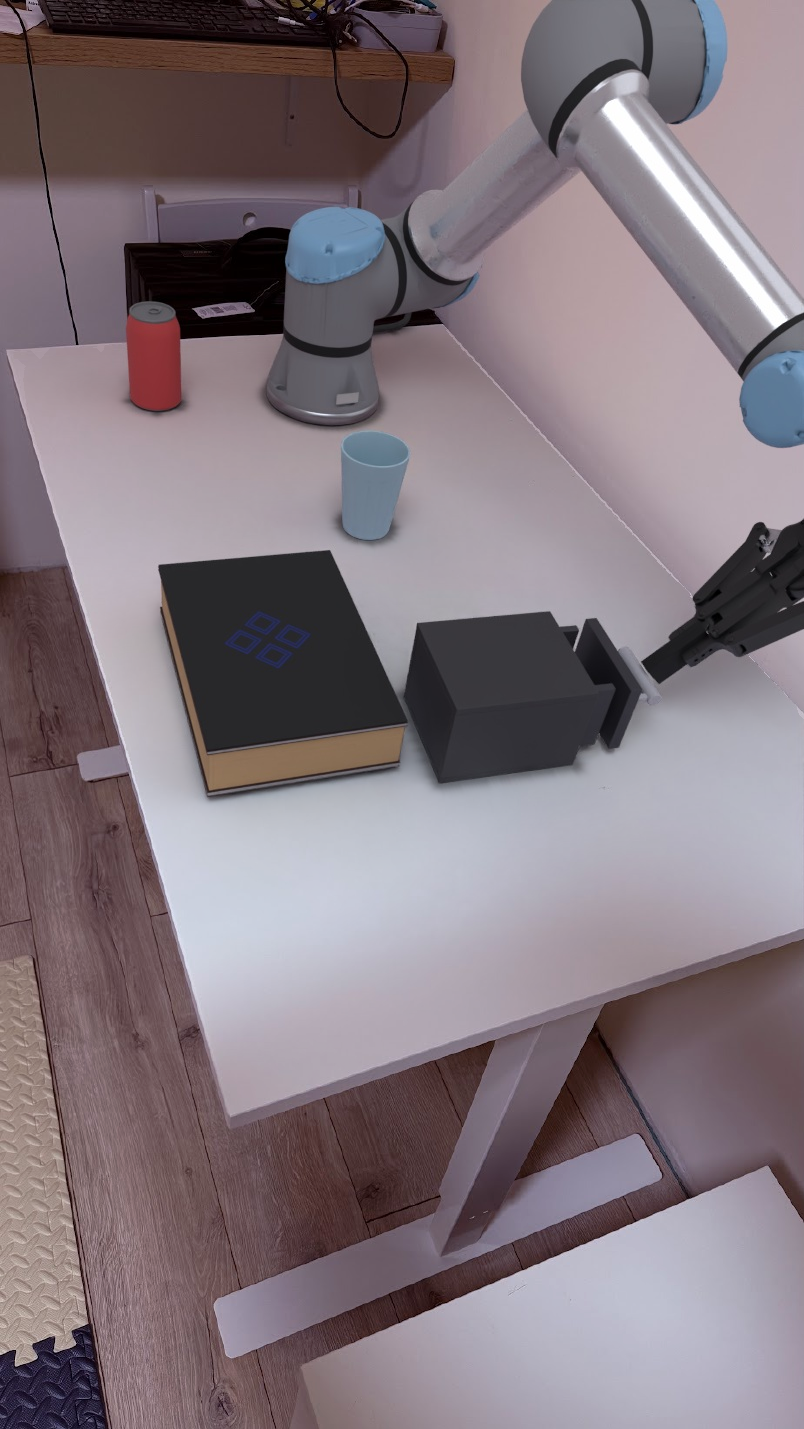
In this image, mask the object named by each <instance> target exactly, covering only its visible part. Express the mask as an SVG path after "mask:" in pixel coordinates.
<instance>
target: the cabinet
mask: <svg viewBox="0 0 804 1429" xmlns="http://www.w3.org/2000/svg"><path fill="white" fill-rule="evenodd" d="M560 627H561V626H560V625H559V623H558V622H557V620H556V618H555V617H554V615H553V613H552V612H551V611H550V610H546V611H535V612H524V613H514V614H512V613H511V614H502V615H501V614H500V615H492V616H480V617H469V618H458V619H456V618H455V619H445V620H435V621H424V622H423V621H422V622H417V623H416V627H415V633H414V639H413V644H412V650H411V655H410V660H409V664H408V671H407V676H406V681H405V687H404V692H403V699H404V702H405V704H406V706H407V709H408V711H409V713H410V716H411V719H412V721H413V723H414V725H415V729H416V731H417V733H418V736H419V738H420V740H421V742H422V746H423V747H424V750H425V752H426V755H427V758H428V760H429V763H430V765H431V767H432V769H433V772H434V774H435V776H436V779H437V781H438V784H444V783H451V782H459V781H465V780H473V779H480V778H487V777H495V776H502V775H509V774H510V775H511V774H516V773H523V772H531V771H539V770H545V769H553V768H561V767H567V766H574V763H575V760H576V757H577V755H578V752H579V749H580V747H581V746H580V744H581V741H582V738H583V735H584V733H585V730H586V727H587V725H588V722H589V719H590V717H591V714H592V711H593V708H594V706H595V703H596V700H597V698H598V695H599V692H598V690H597V689H596V687H595V685H594V684H593V682H592V680H591V679H590V677H589V675H588V674H587V672H586V670H585V669H584V667H583V665H582V664H581V662H580V660H579V659H578V657H577V655H576V654H575V650H574V648H573V649H572V647H571V645H570V644H569V642H568V640H567V638H566V637H565V635H564V633H563V632H562V630H561V628H560Z"/></svg>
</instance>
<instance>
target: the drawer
mask: <svg viewBox="0 0 804 1429" xmlns="http://www.w3.org/2000/svg"><path fill="white" fill-rule="evenodd" d="M559 627H560V628H561V630H562V632H563V633H564V635H565V637H566V638H567V640H568V642H569V644H570V645H571V647H572V649H573V650H574V648H575V650H574V652H575V654H576V655H577V657H578V659H579V660H580V662H581V664H582V665H583V667H584V669H585V670H586V672H587V674H588V675H589V677H590V679H591V680H592V682H593V684H594V685H595V687H596V689H597V690H598V692H599V695H598V698H597V700H596V703H595V706H594V708H593V711H592V714H591V717H590V719H589V722H588V725H587V727H586V730H585V733H584V735H583V738H582V741H581V744H580V746H579V747H586V746H591V745H592V746H593V745H595V744H596V741H597V739H598V736H600V738H601V740H602V741H603V743H604V745H605V747H606V748H607V749H608V750H613V749H618V748H620V746H621V744H622V741H623V739H624V736H625V733H626V731H627V728H628V726H629V724H630V721H631V719H632V717H633V714H634V712H635V709H636V707H637V704H638V703H647V704H648V706H656V705H657V704H659V703H660V701H661V700H662V695H661V694H660V692H659V690H658V689H657V687H656V686H655V685H654V683H653V681H652V680H651V679H650V677H649V675H648V673H646V672H647V671H645V668H643V665H641V662H640V661H638V659H637V657H636V655H635V654H634V652H633V651H632V649H631V648H630V647H629V646H622V647H620V648H619V649H617V647H616V646H615V644H614V642H613V641H612V639H611V638H610V637H609V635H608V633H607V632H606V630H605V628H604V627H603V625H602V624H601V622H600V621H599V620H598V618H597V617H591V618H585V620H584V622H583V627H582V629H581V631H580V629H579V627H578V625H577V624H575V625H564V626H563V625H562V626H559ZM579 632H580V635H579ZM578 636H579V638H578ZM577 639H578V641H577ZM576 642H577V644H576ZM575 644H576V646H575Z"/></svg>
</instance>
